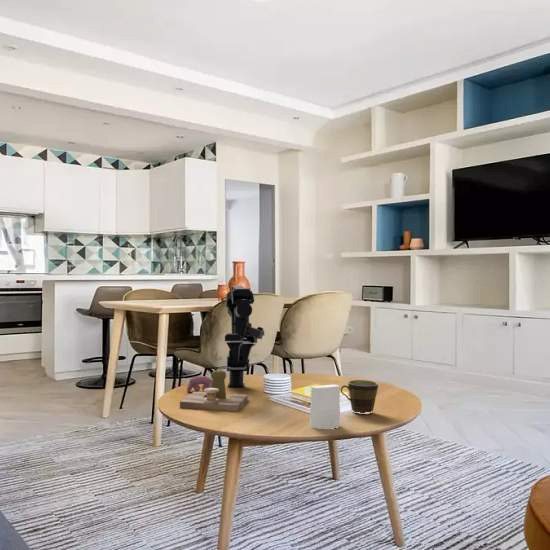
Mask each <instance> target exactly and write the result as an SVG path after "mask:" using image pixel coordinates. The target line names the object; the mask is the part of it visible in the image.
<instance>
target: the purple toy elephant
mask: <svg viewBox="0 0 550 550" xmlns="http://www.w3.org/2000/svg"><path fill="white" fill-rule="evenodd" d="M212 382H213V379H212V377H210V376H209V377H208V376H206V375H197V376H192V377H191V378H190V379H189V381H188V383H187V387H186V388H187V389H186V393H190V392H191V391H192V388H193V390H194V391H195V392H200V391H201V390H202V392H204V389H206V388H212ZM200 385H202V387H200ZM200 389H201V390H200Z"/></svg>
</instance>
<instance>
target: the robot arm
mask: <svg viewBox="0 0 550 550" xmlns="http://www.w3.org/2000/svg"><path fill="white" fill-rule="evenodd" d="M254 303H255V296H254V293H253V290H251V288H250V287H244V286H242V285H232V286H231V288H230V290H229V291H228V292H227V293H226V297H225V308H226V309H227V310H226V311H227V314H228V315H229V317H230V319H231V321H230V323H231V326H230V327H231V329H230V331H231V333H226V334H225V335H224V342H226V343H225V344H227V345H226V346H228V349H229V350H228V354H227V356H226V363H225V370H226V371H225V372H229V374H228V375H229V382H228V384H227V387H228V388H230V387H231V388H244V387H245V384H246V383H245V382H244V377H245V376H244V375H245V373H244V372H248V371H249V367H250V359H249V358H250V354H251V351H252V348H253V347H255V346H256V344H258V340H263V336H265V331H264V328H263V327H261V326H258V327H257V328H256V327H252V323H251V322H250V316H251V315H252V313H253V308H252V305H253V304H254Z"/></svg>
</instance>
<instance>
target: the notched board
mask: <svg viewBox="0 0 550 550" xmlns="http://www.w3.org/2000/svg"><path fill="white" fill-rule="evenodd" d="M217 392H219V389H217V388H206V389H204V391H195V390H194V391H193V392H192V393H190V394H189V395H188V396H186V397H184V398H183V399H181V400H180V401H179V408H181V407H183V408H184V409H195V408H198V409H197V410H210V409H214V410H213V411H225V410H226V411H229V412H238V411H240V410H241V409H242V408H243V406H244V405H245V404H246V403H247V402H248V400H249V395H248V394H243V393H242V394H239V393H232V394H231V395H230V396H229V397H228V398H226V399H222V398H216V393H217ZM183 408H182V409H183Z"/></svg>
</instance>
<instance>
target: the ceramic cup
mask: <svg viewBox="0 0 550 550" xmlns="http://www.w3.org/2000/svg"><path fill="white" fill-rule="evenodd" d="M344 388H347V390H348V393H349V394H348V395H349V397H348V396H347V394H345V393H344V392H343V389H344ZM378 389H379V383H378V382H376V381H372V380H365V379H364V380H363V379H360V380H359V379H354V380H349V381H348V382H347V385H342V386H340V394H342V395H343V396H345V397H346V398H347V399H348V401H350V405H351V411H352V410H353V411H354V412H360V413H365V412H371V411H373V412H374V408H375V404H376V398H377V394H378Z"/></svg>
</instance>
